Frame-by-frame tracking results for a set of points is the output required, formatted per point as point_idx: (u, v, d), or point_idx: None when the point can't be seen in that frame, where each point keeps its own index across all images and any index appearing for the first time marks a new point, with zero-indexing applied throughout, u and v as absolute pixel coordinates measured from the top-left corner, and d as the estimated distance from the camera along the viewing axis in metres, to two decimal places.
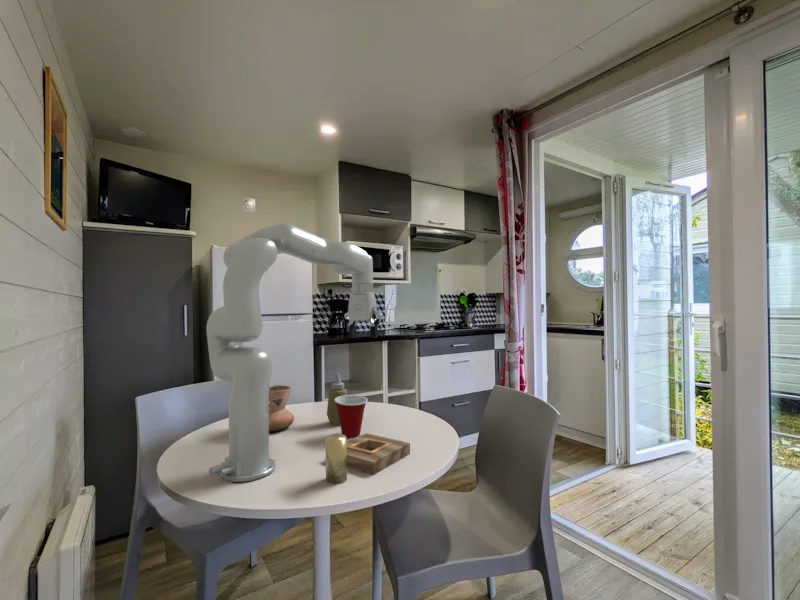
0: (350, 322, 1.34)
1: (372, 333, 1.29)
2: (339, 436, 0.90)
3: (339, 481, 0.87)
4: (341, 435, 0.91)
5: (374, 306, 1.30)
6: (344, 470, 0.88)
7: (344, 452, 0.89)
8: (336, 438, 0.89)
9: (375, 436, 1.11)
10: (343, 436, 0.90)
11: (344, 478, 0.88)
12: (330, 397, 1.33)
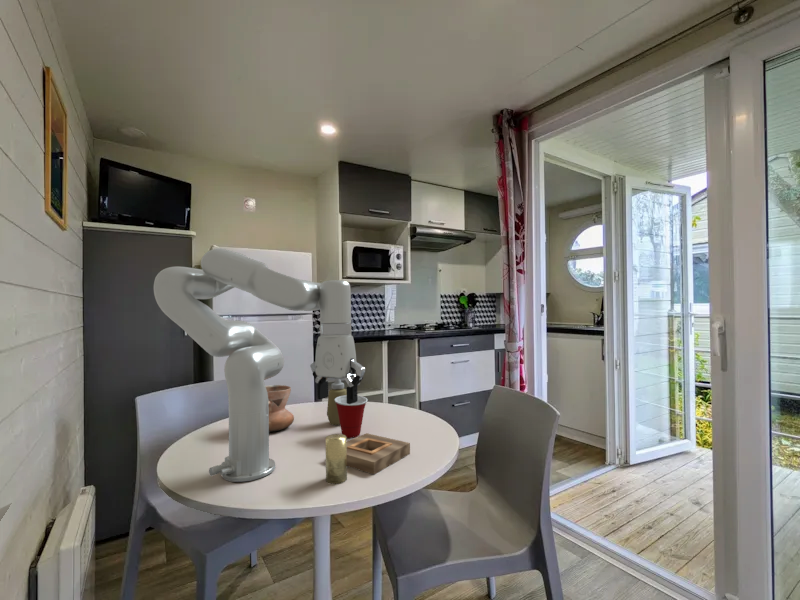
0: (318, 377, 0.93)
1: (349, 397, 0.87)
2: (339, 436, 0.90)
3: (339, 481, 0.87)
4: (341, 435, 0.91)
5: (352, 356, 0.89)
6: (344, 470, 0.88)
7: (344, 452, 0.89)
8: (336, 438, 0.89)
9: (375, 436, 1.11)
10: (343, 436, 0.90)
11: (344, 478, 0.88)
12: (330, 397, 1.33)
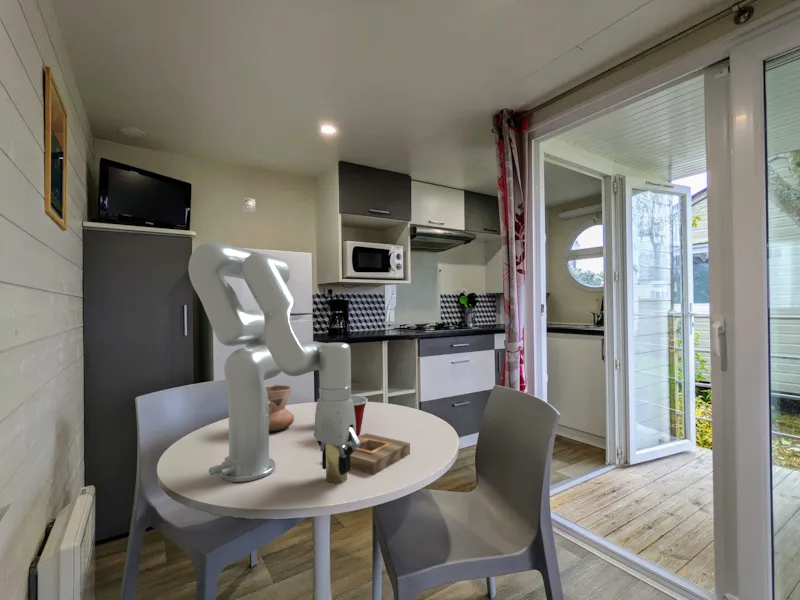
0: (322, 445, 0.90)
1: (342, 467, 0.87)
2: None
3: (339, 481, 0.87)
4: None
5: (352, 422, 0.87)
6: None
7: None
8: None
9: (375, 436, 1.11)
10: None
11: (344, 478, 0.88)
12: None
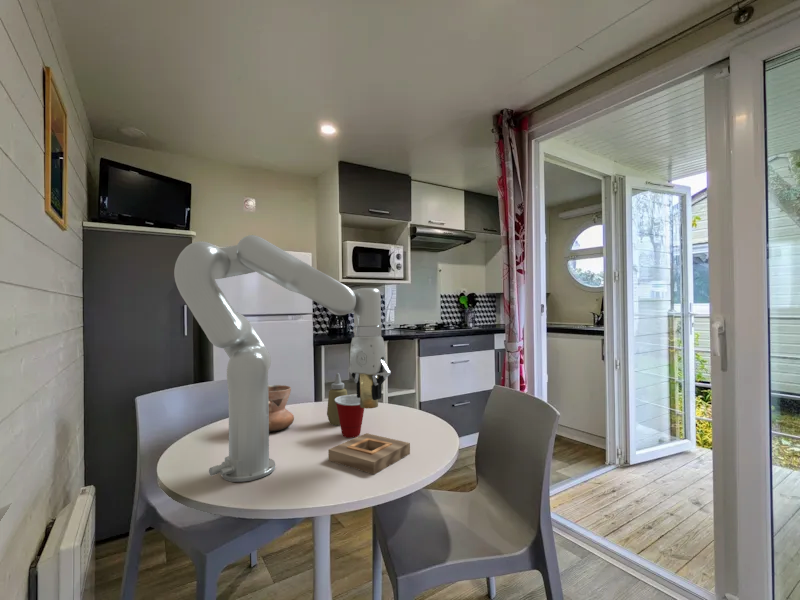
0: (356, 377, 1.04)
1: (375, 394, 1.00)
2: None
3: (372, 406, 1.01)
4: None
5: (383, 355, 1.01)
6: None
7: None
8: None
9: (375, 436, 1.11)
10: None
11: (376, 404, 1.02)
12: (330, 397, 1.33)
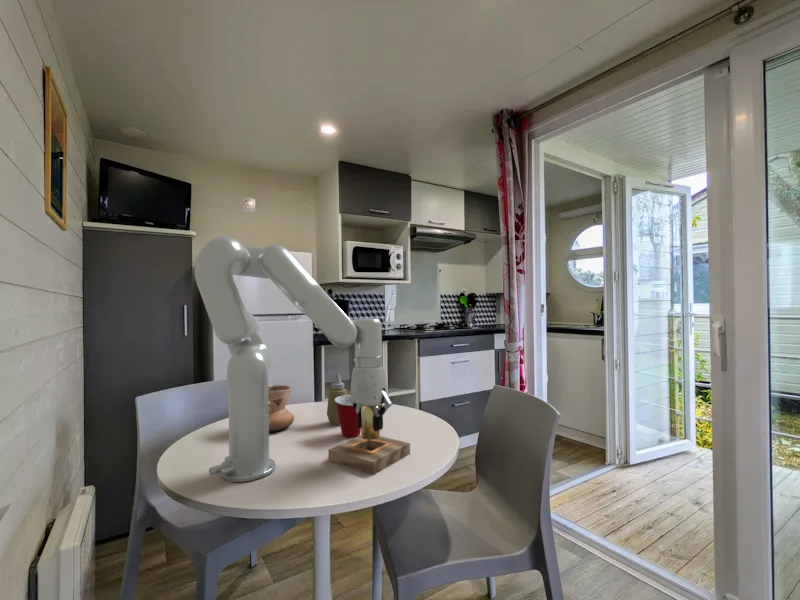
0: (358, 407, 1.04)
1: (376, 425, 1.00)
2: None
3: (374, 437, 1.01)
4: None
5: (384, 386, 1.01)
6: None
7: None
8: None
9: None
10: None
11: (378, 435, 1.02)
12: (330, 397, 1.33)
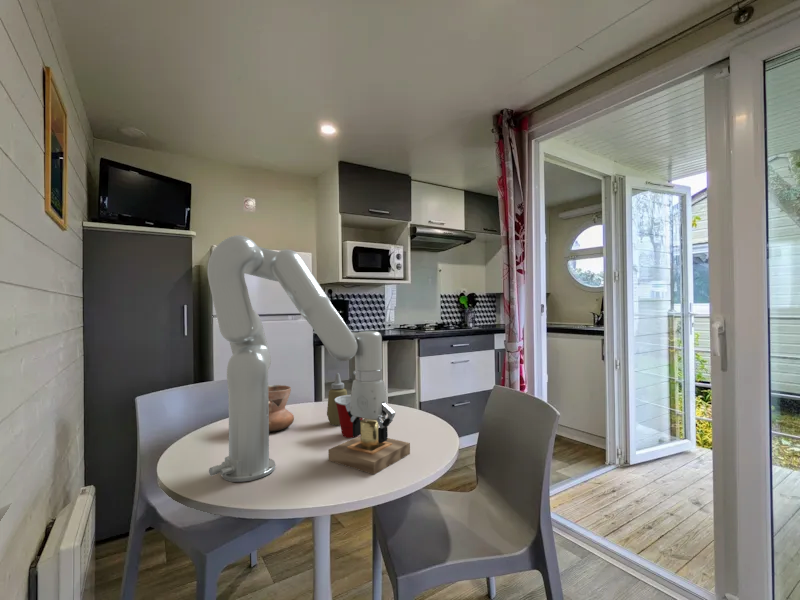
0: (353, 417, 1.05)
1: (381, 437, 0.99)
2: (372, 420, 1.04)
3: None
4: None
5: (384, 399, 1.01)
6: None
7: (377, 433, 1.02)
8: (369, 421, 1.03)
9: None
10: (375, 420, 1.04)
11: None
12: (330, 397, 1.33)
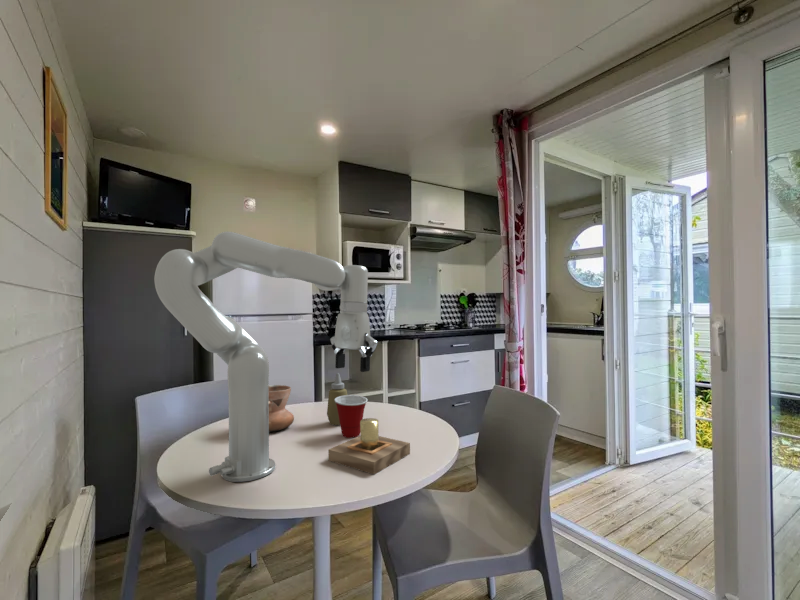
0: (337, 349, 1.07)
1: (363, 366, 1.01)
2: (372, 420, 1.04)
3: None
4: (373, 419, 1.04)
5: (367, 331, 1.03)
6: None
7: (377, 433, 1.02)
8: (369, 421, 1.03)
9: None
10: (375, 420, 1.04)
11: None
12: (330, 397, 1.33)
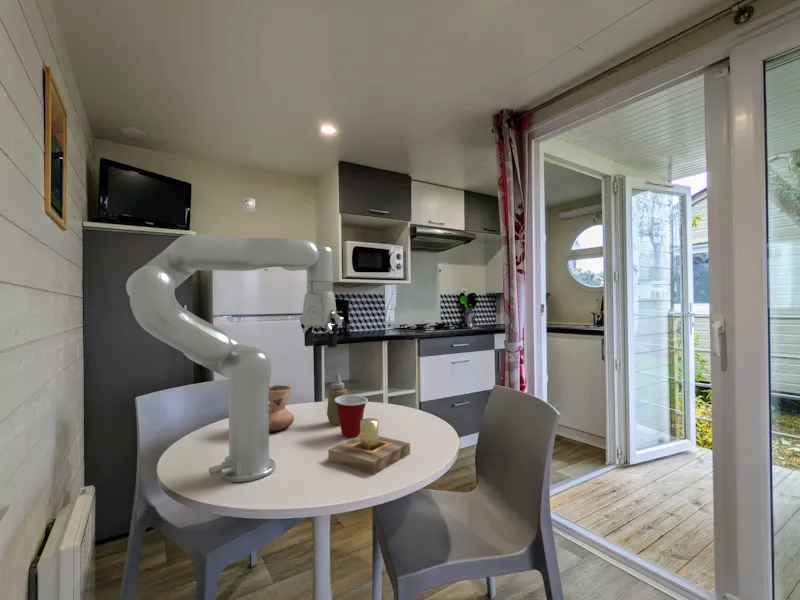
0: (305, 328, 1.11)
1: (330, 341, 1.05)
2: (372, 419, 1.04)
3: None
4: (373, 419, 1.04)
5: (333, 308, 1.07)
6: None
7: (377, 433, 1.02)
8: (369, 421, 1.03)
9: None
10: (375, 420, 1.04)
11: None
12: (330, 397, 1.33)
